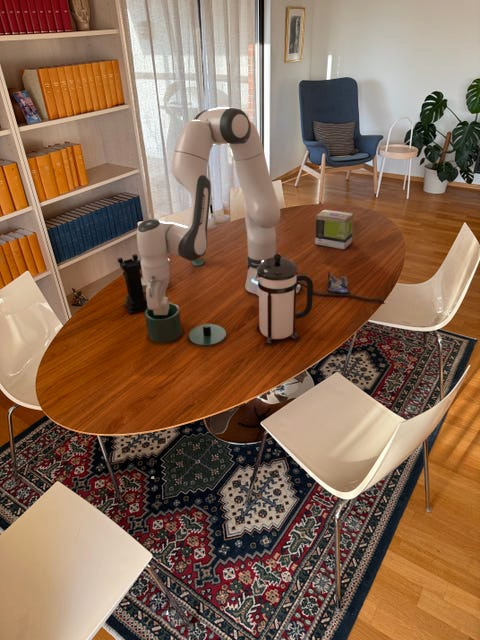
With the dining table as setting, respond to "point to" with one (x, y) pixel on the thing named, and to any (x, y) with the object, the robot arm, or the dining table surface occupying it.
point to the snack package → (337, 284)
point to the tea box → (334, 229)
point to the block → (163, 307)
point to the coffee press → (280, 297)
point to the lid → (207, 335)
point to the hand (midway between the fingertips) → (161, 307)
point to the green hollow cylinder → (164, 325)
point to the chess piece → (133, 285)
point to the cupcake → (199, 260)
